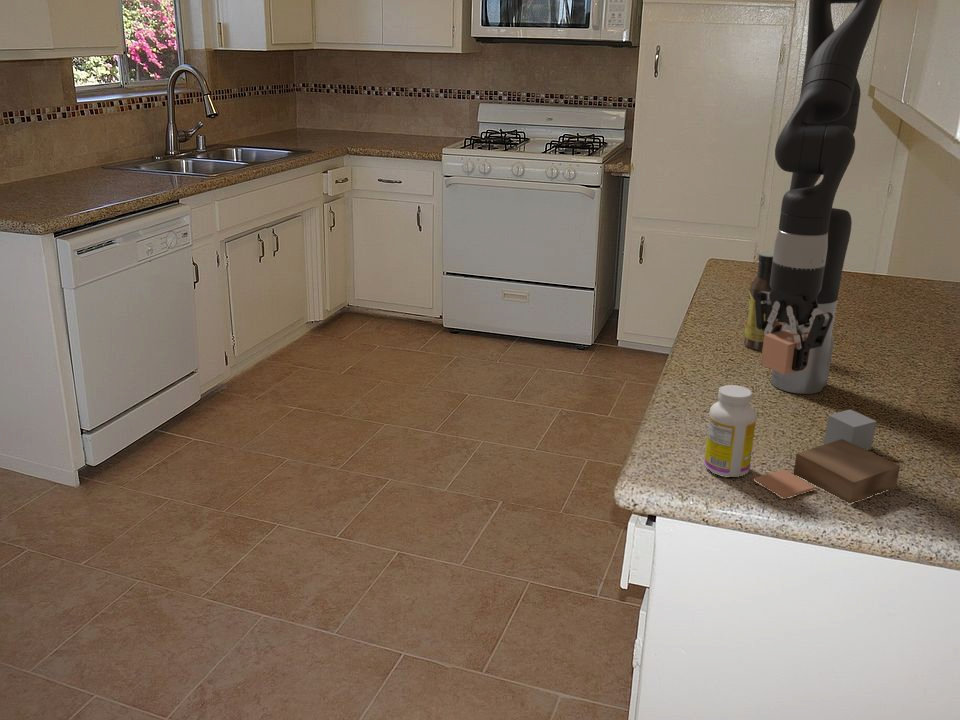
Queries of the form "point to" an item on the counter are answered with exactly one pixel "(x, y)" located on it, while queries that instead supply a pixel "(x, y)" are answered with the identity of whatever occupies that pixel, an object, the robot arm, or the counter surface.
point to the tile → (784, 483)
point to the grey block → (850, 428)
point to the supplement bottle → (730, 432)
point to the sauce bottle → (761, 283)
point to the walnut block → (846, 470)
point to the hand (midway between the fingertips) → (784, 363)
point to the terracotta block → (779, 352)
